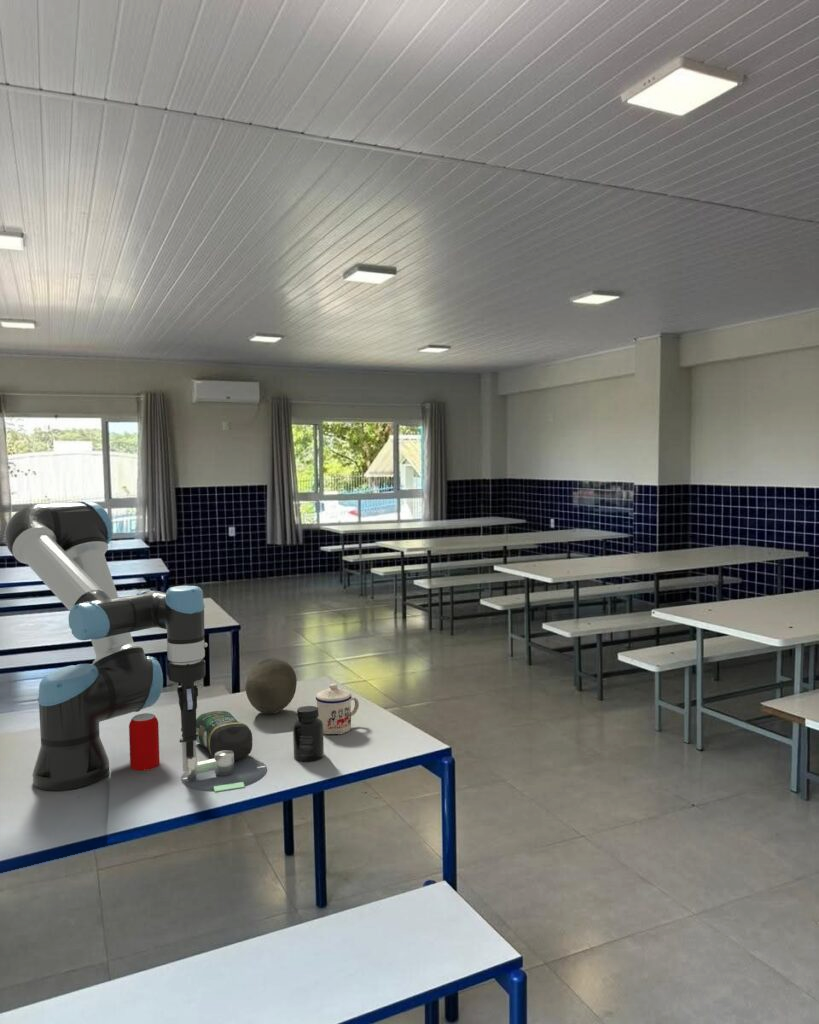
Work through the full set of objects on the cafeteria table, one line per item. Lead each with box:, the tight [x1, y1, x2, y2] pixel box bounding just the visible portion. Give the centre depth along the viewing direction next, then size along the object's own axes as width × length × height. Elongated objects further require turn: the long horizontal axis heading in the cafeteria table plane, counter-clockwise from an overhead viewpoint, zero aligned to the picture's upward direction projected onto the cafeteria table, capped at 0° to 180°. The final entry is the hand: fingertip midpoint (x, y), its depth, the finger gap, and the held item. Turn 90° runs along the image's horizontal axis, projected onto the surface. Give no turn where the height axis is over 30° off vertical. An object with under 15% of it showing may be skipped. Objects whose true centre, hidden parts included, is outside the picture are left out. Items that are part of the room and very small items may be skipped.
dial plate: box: [180, 757, 268, 793], centre depth 159 cm, size 18×18×1 cm
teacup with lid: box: [315, 683, 360, 735], centre depth 189 cm, size 12×9×12 cm
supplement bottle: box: [292, 705, 325, 763], centre depth 168 cm, size 7×7×12 cm
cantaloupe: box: [245, 657, 298, 715], centre depth 200 cm, size 14×14×15 cm
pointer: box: [186, 750, 234, 780], centre depth 157 cm, size 10×4×5 cm, turn 122°
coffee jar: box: [196, 710, 253, 760], centre depth 172 cm, size 10×8×19 cm
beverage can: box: [128, 712, 161, 772], centre depth 164 cm, size 6×6×12 cm
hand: (189, 769), depth 156 cm, fingers closed
